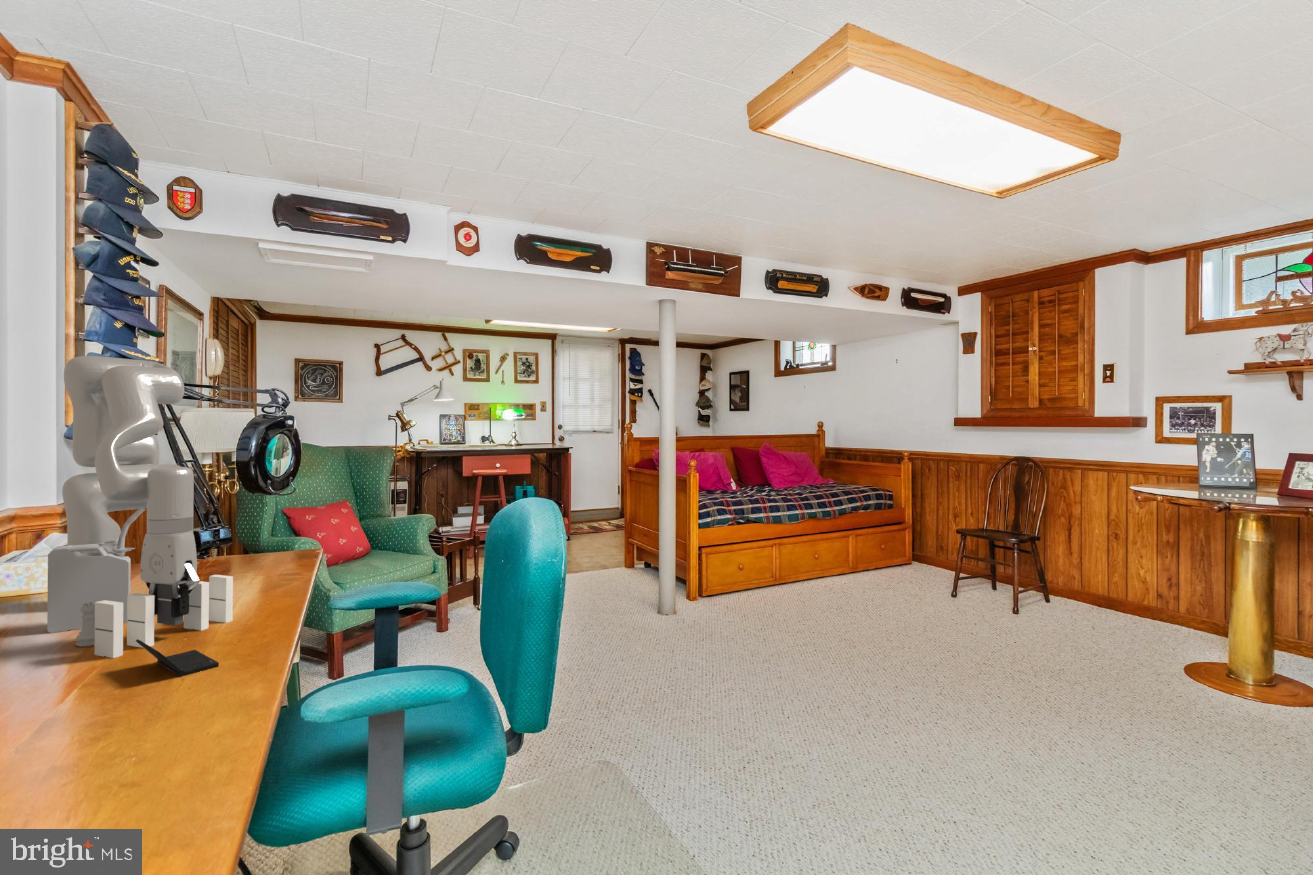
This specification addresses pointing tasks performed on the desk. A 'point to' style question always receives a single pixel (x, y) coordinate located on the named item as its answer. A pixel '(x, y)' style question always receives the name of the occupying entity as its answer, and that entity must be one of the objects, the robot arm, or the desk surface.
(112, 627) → the domino
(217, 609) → the domino
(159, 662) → the handheld gaming console
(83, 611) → the rook chess piece
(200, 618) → the domino
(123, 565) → the fuel canister
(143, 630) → the domino
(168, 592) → the domino
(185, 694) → the desk surface
